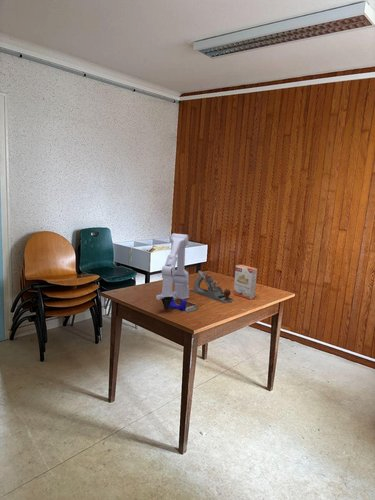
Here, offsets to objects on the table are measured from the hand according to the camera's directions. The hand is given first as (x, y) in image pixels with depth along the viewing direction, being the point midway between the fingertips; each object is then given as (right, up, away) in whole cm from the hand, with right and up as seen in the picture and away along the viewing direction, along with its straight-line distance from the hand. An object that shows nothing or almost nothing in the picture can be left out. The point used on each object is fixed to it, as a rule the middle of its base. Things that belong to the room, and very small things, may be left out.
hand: (166, 309), depth 211 cm
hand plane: (+28, +3, +36) cm, 46 cm away
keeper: (+9, 0, +9) cm, 13 cm away
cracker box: (+51, +2, +40) cm, 65 cm away
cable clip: (+5, -1, +6) cm, 8 cm away
